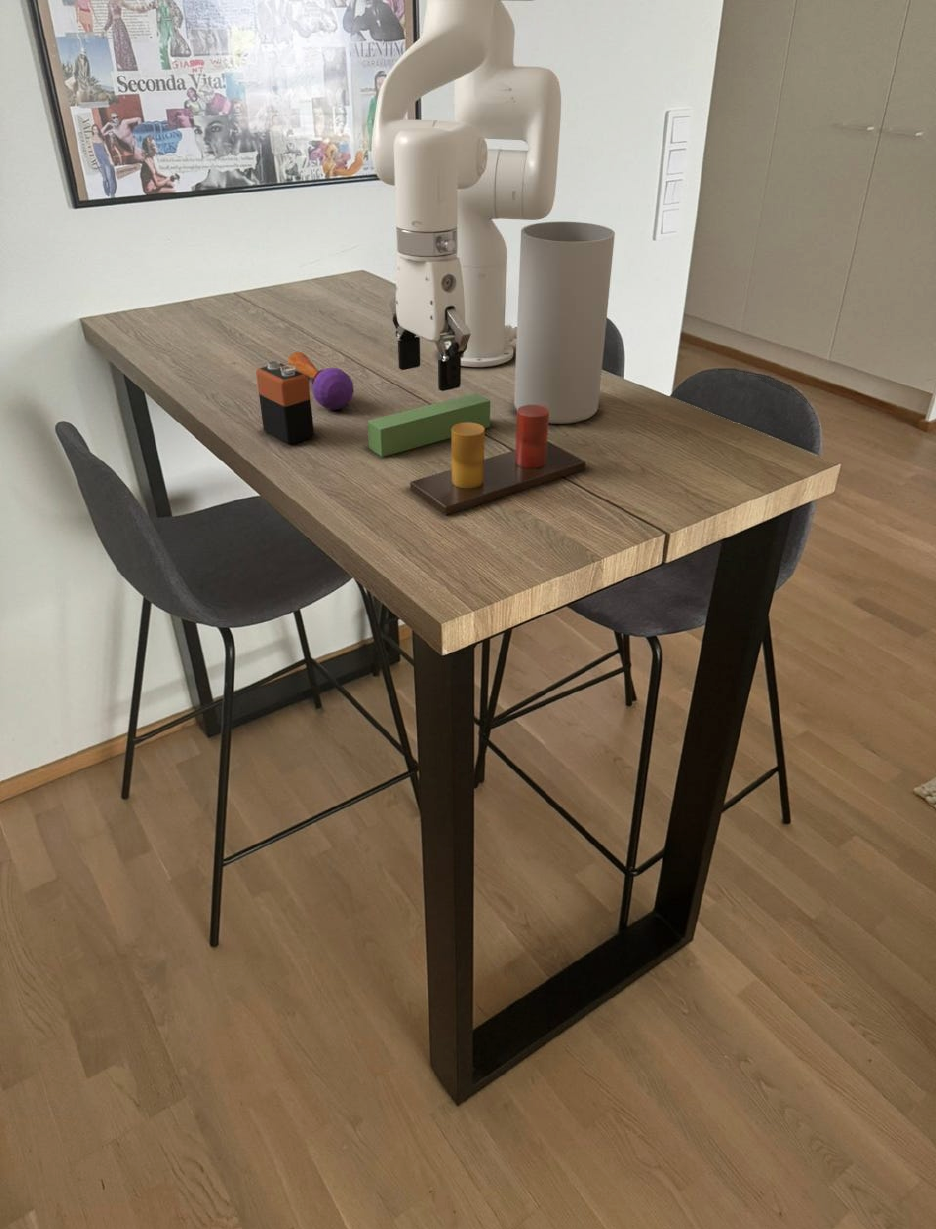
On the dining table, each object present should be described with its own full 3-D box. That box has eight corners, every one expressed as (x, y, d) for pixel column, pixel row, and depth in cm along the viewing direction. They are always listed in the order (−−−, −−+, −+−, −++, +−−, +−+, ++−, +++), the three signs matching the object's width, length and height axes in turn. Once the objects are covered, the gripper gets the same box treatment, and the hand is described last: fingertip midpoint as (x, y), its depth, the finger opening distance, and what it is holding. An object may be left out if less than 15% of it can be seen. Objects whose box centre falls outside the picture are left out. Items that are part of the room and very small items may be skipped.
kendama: (317, 344, 145) (360, 374, 130) (314, 381, 148) (357, 414, 132) (281, 342, 142) (321, 372, 127) (279, 380, 145) (318, 414, 130)
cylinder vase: (502, 418, 131) (508, 237, 116) (527, 389, 140) (536, 218, 126) (586, 431, 127) (602, 246, 113) (605, 400, 137) (623, 226, 122)
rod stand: (546, 448, 122) (549, 391, 118) (584, 469, 117) (590, 410, 112) (410, 490, 112) (408, 429, 107) (445, 515, 107) (445, 452, 102)
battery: (289, 446, 122) (281, 375, 117) (262, 431, 126) (253, 362, 121) (315, 437, 125) (309, 367, 119) (288, 423, 129) (280, 355, 123)
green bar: (475, 419, 131) (476, 392, 128) (490, 427, 128) (490, 400, 126) (368, 448, 122) (367, 420, 120) (382, 457, 120) (380, 429, 117)
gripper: (493, 252, 106) (489, 391, 116) (415, 227, 118) (417, 356, 127) (440, 259, 103) (441, 403, 112) (365, 233, 114) (372, 365, 124)
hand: (429, 378), depth 120 cm, fingers open, 9 cm apart
